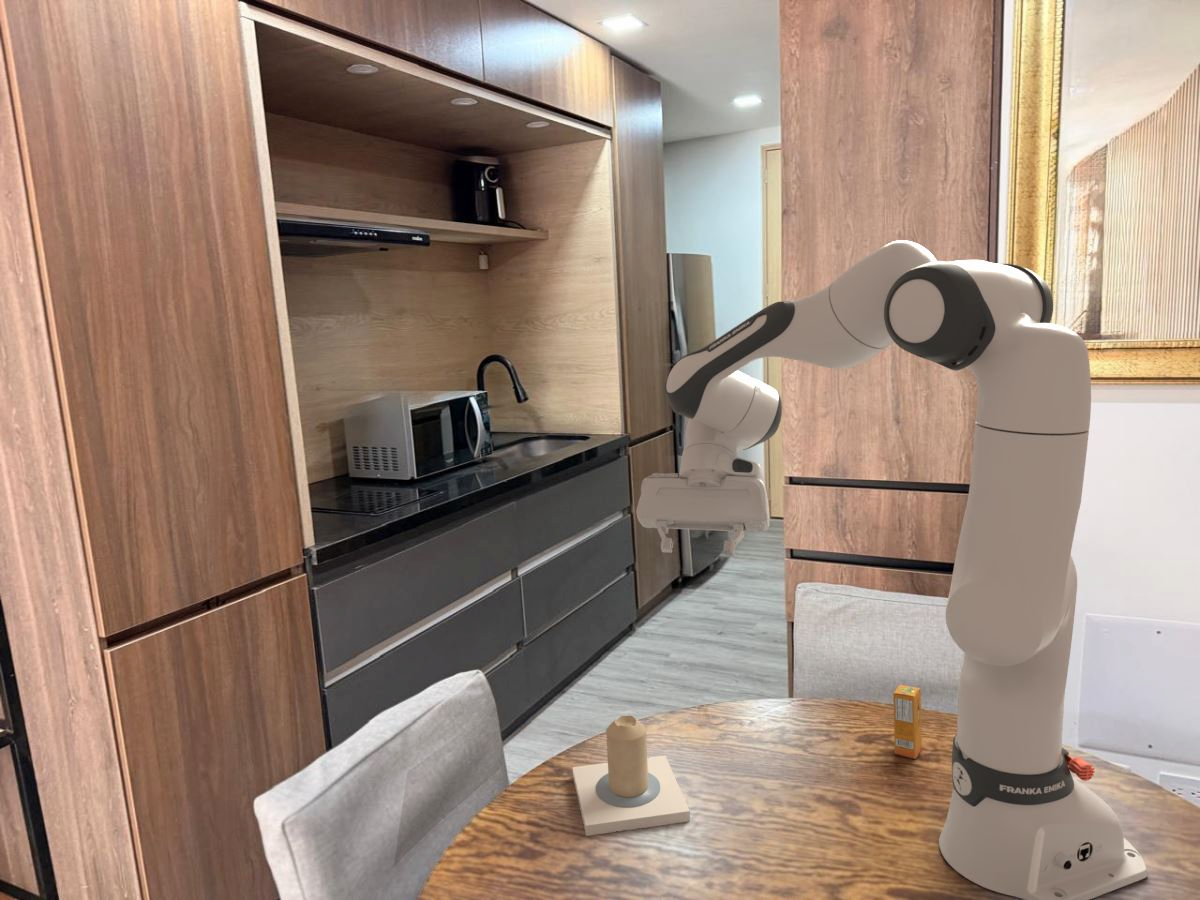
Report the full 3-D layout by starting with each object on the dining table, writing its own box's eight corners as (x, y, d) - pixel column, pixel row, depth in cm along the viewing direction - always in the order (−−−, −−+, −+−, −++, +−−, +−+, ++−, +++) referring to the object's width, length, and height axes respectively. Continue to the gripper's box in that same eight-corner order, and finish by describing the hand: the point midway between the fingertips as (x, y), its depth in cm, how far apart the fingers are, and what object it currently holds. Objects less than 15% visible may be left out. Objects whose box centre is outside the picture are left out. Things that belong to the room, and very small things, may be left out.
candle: (645, 799, 110) (642, 731, 108) (605, 796, 111) (602, 729, 110) (651, 776, 115) (648, 711, 114) (613, 774, 116) (609, 709, 115)
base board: (665, 764, 121) (665, 754, 121) (690, 821, 108) (689, 809, 107) (573, 776, 119) (572, 765, 119) (585, 836, 106) (585, 824, 105)
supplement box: (898, 743, 124) (899, 682, 122) (921, 750, 122) (923, 688, 120) (891, 753, 121) (893, 691, 120) (915, 760, 119) (917, 697, 118)
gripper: (639, 462, 129) (625, 539, 121) (770, 464, 122) (763, 545, 115) (647, 483, 134) (634, 558, 126) (773, 486, 127) (767, 565, 120)
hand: (697, 552), depth 120 cm, fingers open, 8 cm apart
